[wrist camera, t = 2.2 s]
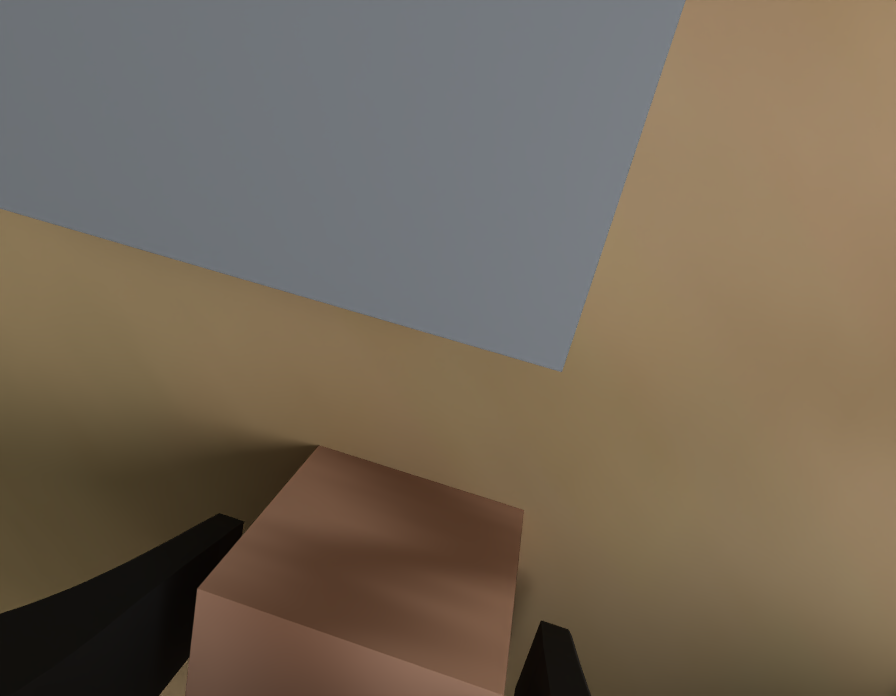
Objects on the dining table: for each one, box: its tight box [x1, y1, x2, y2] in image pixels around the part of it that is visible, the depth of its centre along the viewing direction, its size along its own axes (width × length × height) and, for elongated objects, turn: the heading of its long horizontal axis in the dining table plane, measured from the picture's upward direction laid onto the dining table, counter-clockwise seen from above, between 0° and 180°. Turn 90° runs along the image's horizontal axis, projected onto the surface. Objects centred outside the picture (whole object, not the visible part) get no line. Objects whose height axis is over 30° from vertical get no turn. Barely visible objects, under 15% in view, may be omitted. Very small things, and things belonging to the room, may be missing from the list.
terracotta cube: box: [185, 445, 524, 696], centre depth 12 cm, size 5×5×5 cm
